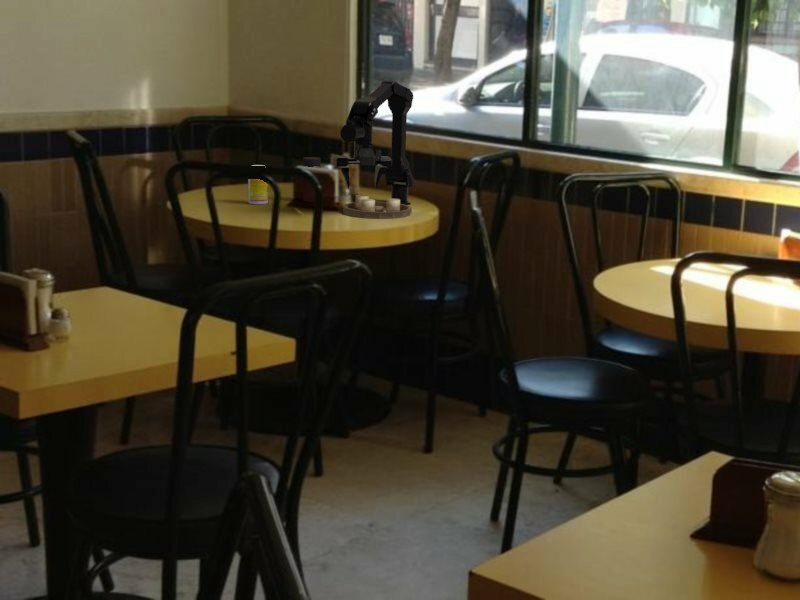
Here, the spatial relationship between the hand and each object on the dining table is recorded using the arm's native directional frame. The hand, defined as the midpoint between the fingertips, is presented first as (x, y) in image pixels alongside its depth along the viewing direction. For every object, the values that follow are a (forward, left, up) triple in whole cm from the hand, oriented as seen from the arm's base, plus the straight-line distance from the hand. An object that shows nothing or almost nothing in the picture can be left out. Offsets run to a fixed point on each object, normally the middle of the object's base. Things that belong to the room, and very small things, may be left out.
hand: (362, 187), depth 423 cm
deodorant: (-26, -12, -9) cm, 30 cm away
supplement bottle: (-23, -31, -9) cm, 39 cm away
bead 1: (+8, 0, -8) cm, 11 cm away
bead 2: (+8, +9, -8) cm, 14 cm away
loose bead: (0, 0, -8) cm, 8 cm away
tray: (+4, +4, -8) cm, 10 cm away
